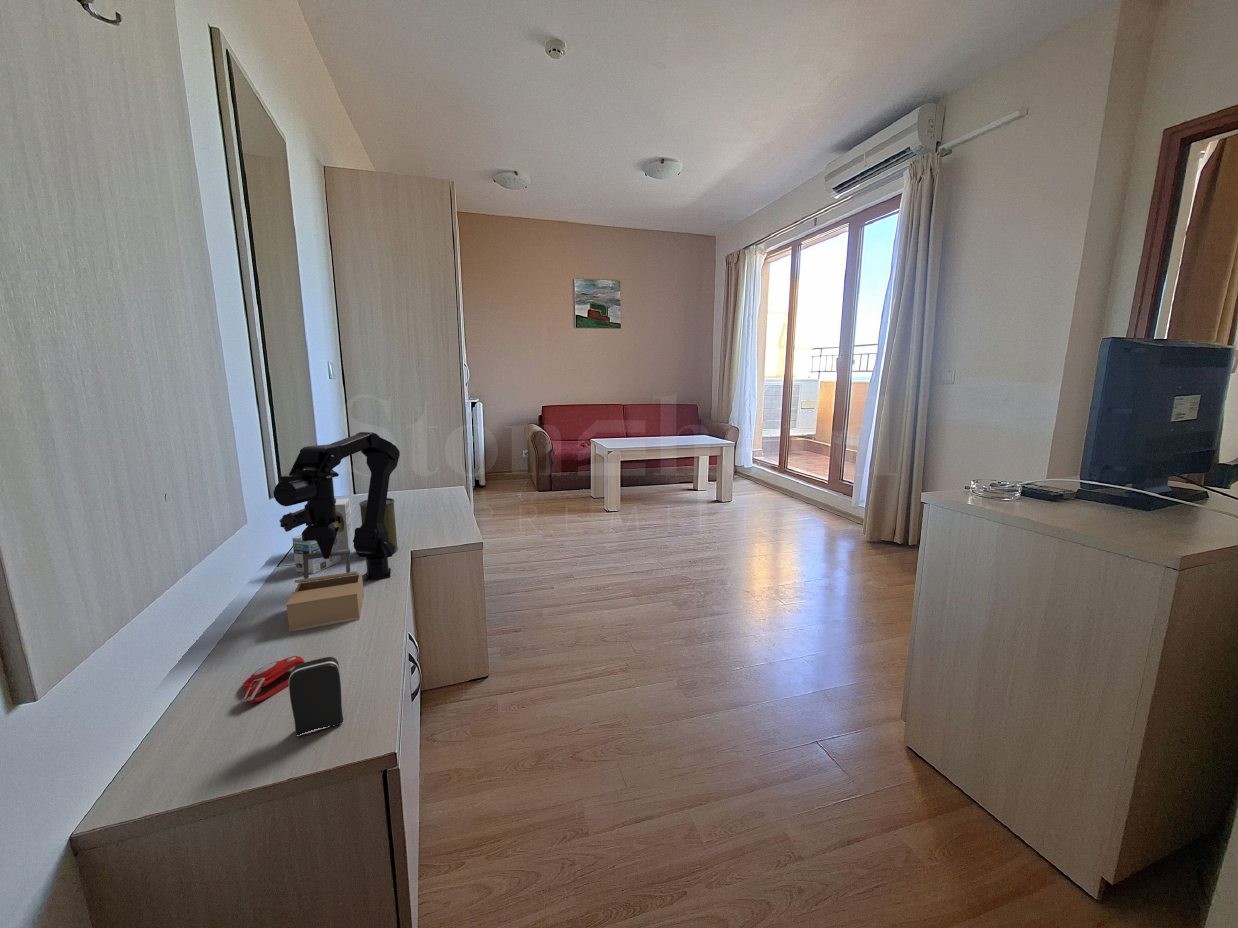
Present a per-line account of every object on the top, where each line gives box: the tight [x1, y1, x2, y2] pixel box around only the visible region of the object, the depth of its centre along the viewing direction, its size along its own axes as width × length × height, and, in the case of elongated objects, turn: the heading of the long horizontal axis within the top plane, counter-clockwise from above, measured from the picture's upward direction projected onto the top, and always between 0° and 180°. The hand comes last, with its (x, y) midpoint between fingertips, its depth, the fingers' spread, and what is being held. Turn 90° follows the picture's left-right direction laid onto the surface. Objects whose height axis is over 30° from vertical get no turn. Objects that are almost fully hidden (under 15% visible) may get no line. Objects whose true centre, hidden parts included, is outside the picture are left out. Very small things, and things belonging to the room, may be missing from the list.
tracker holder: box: [240, 655, 306, 704], centre depth 87 cm, size 12×4×10 cm
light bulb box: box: [291, 534, 341, 575], centre depth 142 cm, size 11×7×11 cm, turn 168°
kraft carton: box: [285, 573, 365, 633], centre depth 114 cm, size 14×14×7 cm
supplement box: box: [332, 497, 354, 550], centre depth 156 cm, size 10×9×17 cm
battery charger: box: [288, 656, 345, 736], centre depth 76 cm, size 7×4×11 cm, turn 120°
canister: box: [358, 497, 399, 552], centre depth 155 cm, size 11×10×20 cm
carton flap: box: [294, 549, 361, 584], centre depth 118 cm, size 6×13×7 cm, turn 115°
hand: (326, 558), depth 116 cm, fingers closed
